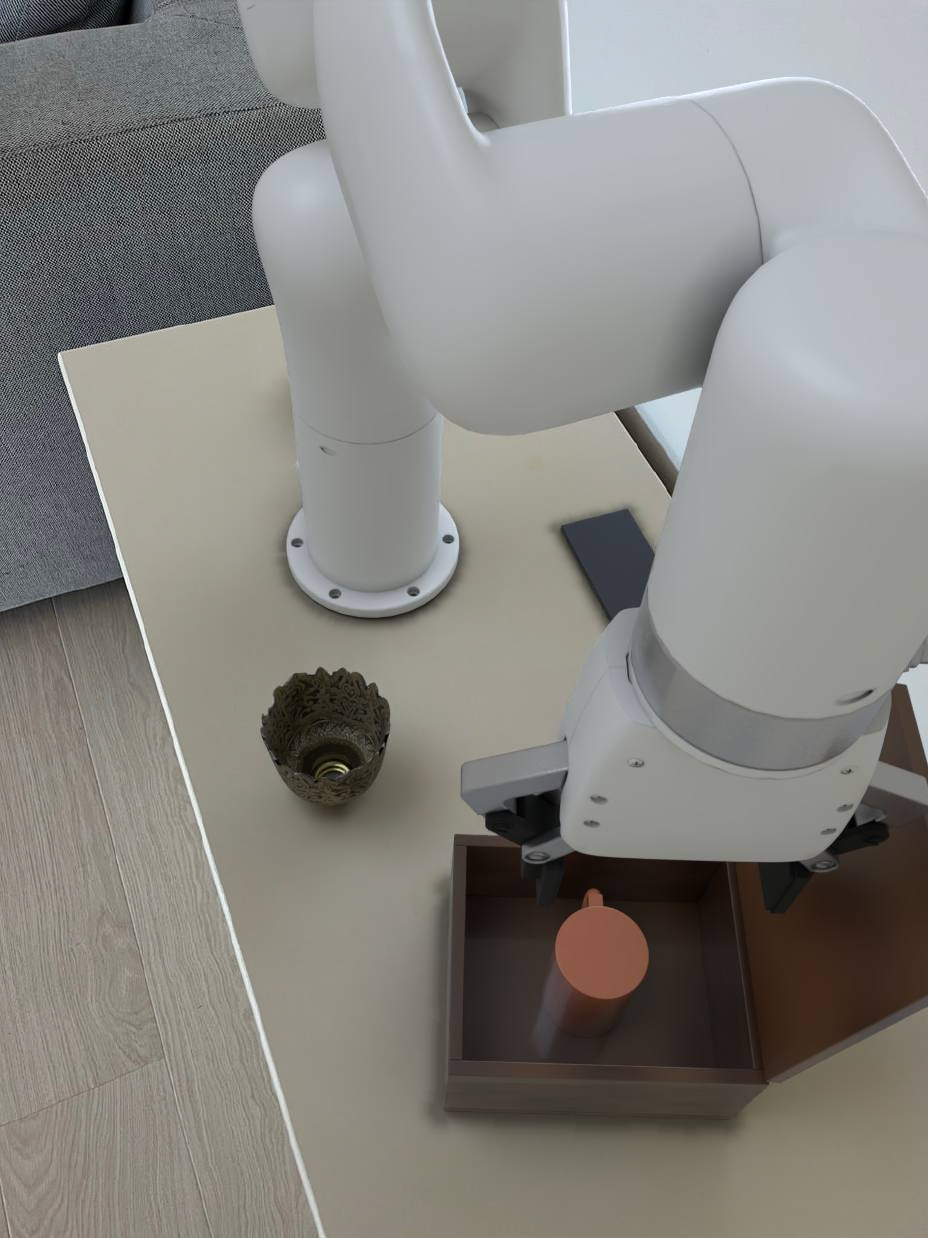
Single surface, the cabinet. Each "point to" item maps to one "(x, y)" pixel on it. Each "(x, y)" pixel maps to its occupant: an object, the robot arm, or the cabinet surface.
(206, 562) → the cabinet surface
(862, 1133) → the cabinet surface
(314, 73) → the robot arm
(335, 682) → the cup
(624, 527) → the mat
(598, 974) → the glossy terracotta cylinder
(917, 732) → the lid
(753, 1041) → the chest
